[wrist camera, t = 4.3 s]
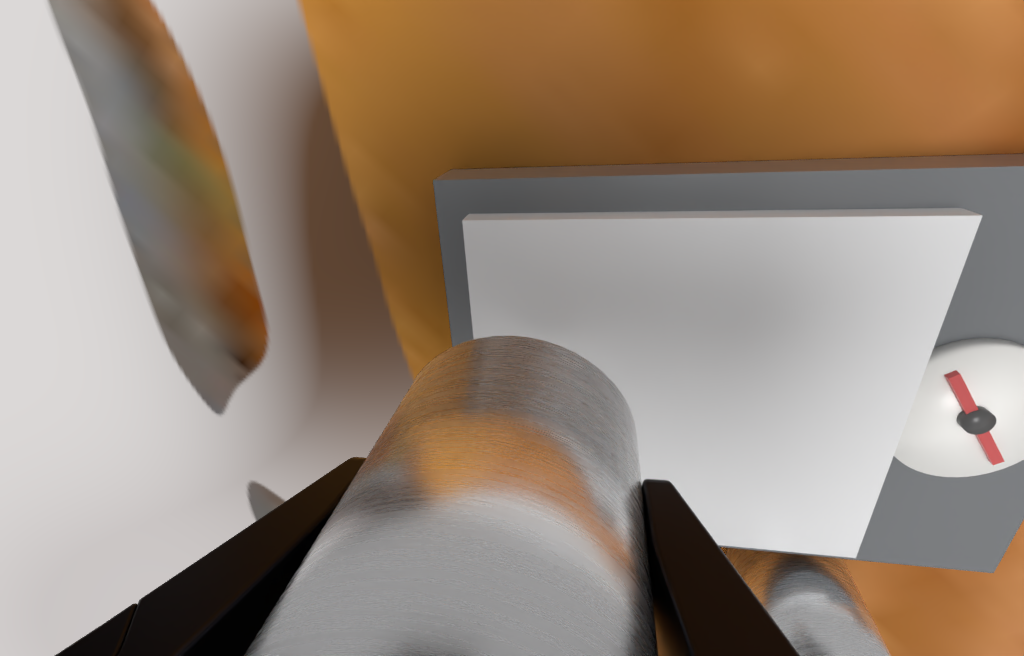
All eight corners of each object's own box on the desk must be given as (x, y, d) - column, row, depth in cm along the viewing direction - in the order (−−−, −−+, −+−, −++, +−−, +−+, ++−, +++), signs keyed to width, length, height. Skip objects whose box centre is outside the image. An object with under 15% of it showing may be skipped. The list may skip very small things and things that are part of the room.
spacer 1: (630, 533, 10) (663, 1070, 5) (420, 514, 11) (235, 956, 5) (645, 339, 8) (734, 874, 3) (386, 331, 9) (40, 739, 3)
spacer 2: (824, 594, 22) (894, 759, 17) (720, 583, 23) (755, 737, 18) (848, 523, 20) (937, 684, 15) (733, 514, 21) (779, 663, 16)
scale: (958, 527, 19) (1011, 596, 17) (483, 488, 23) (468, 541, 20) (1140, 150, 13) (1269, 167, 11) (451, 169, 16) (423, 186, 14)
